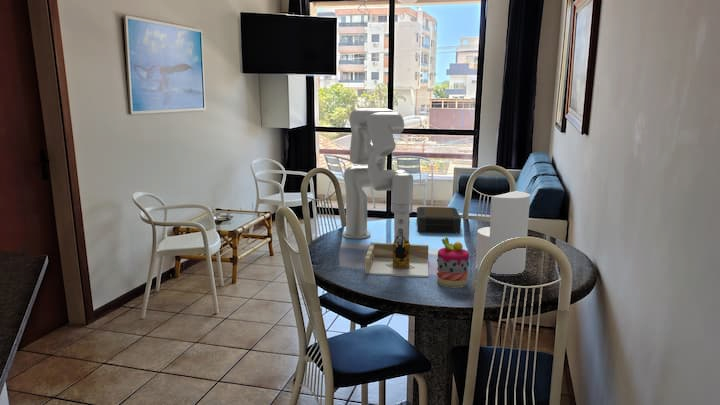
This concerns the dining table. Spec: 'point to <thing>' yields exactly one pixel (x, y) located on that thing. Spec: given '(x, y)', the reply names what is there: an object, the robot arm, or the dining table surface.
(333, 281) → the dining table surface
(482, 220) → the dining table surface
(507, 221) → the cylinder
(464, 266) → the cake
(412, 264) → the mat
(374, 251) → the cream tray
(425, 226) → the cash box
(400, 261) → the condiment
